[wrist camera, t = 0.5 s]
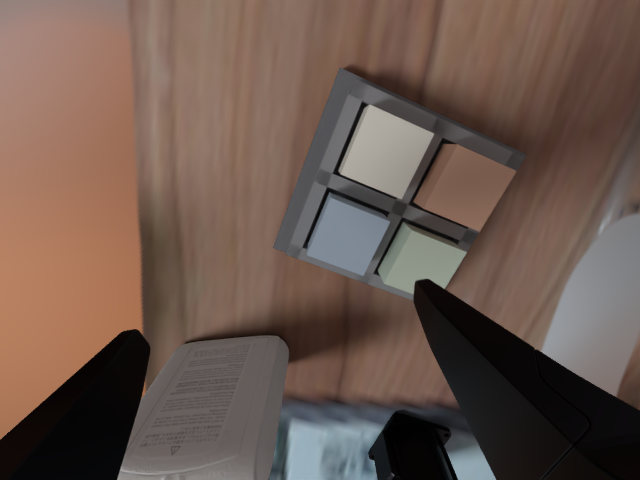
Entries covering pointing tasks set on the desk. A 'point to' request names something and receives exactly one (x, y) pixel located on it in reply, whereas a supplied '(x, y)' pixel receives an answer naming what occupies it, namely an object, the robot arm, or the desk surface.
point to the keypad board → (325, 177)
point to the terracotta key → (463, 186)
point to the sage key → (419, 259)
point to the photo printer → (211, 413)
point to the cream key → (385, 151)
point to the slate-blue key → (347, 234)
